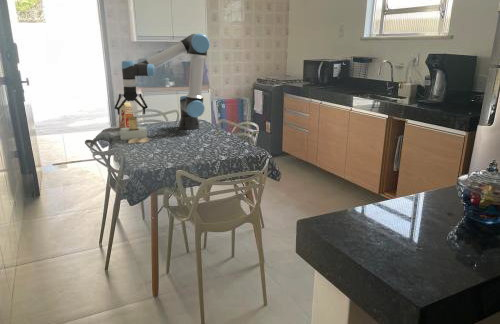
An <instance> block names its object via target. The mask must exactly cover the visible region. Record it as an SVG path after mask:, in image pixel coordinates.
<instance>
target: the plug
mask: <svg viewBox="0 0 500 324" xmlns="http://www.w3.org/2000/svg"><path fill="white" fill-rule="evenodd" d="M129 127H130V131H133V130H137V127H138V121H137V116H134V117H129Z"/></svg>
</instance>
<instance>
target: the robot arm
mask: <svg viewBox="0 0 500 324" xmlns="http://www.w3.org/2000/svg"><path fill="white" fill-rule="evenodd" d="M210 45H211V44H210V40H209V38H208V37H207V35H205V34H203V33H197V32H196V33H191V34H190V35H188V36H187V37H184V38H182V40H180V41H178V43H177V44H175V45H173V46H171V47H168V48H167V49H165V50H163V51H161V52H159V53H157V54H155V55H153V56H150V57H149V58H147V59H144V60H142V61H140V62H137V63H135V61H134V60H122V61H121V73H122V85H123V93H119V94H118V99H117V101H116V102H115V103H116V104H115V105H114V110H117V115H118V116H119V115H120V120H122V116H121V109H120V108H121V107H122V106H123V104H124V103H125V102H135V103H137V104H138V106H140V107H141V118H142V120H144V115H146V109H148V105H147V103H146V102H145V100H144V98H143V96H142V93H137V85H136V84H137V83H136V77H154V76H155V73H156V72H155V69H157V68H159V67H161V66H163V65H165V64H167V63H169V62H171V61H173V60H175V59H177V58H179V57H181V56H183V55H189V56H190V68H189V69H190V70H189V84H188V93H187V94H186V95H181V96H180V97H179V106H180V107H179V108H180V118H179V122H178V129H181V130H190V131H191V130H197V129H200V128H201V123H200V121H199V117H201V116H202V115H203V114H204V112H205V109H206V108H205V104H204V97H203V95H202V89H203V81H204V80H203V78H204V64H205V58H206V57H207V56H208V50H210ZM123 97H124V100H123V102H122V101H121V98H123ZM137 97H138V98H140V100H141V102H142V103H143V104H142V103H141V102H140V101H139V100H138V98H137ZM120 101H121V103H120ZM119 104H120V105H119Z"/></svg>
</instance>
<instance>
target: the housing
mask: <svg viewBox="0 0 500 324" xmlns="http://www.w3.org/2000/svg"><path fill="white" fill-rule="evenodd" d="M119 130H120V131H119V135H120V136H119V137H120V140H121V141H124V140H129V139H135V138H148V132H147V126H137V130H133V131H130V128H121V129H119Z"/></svg>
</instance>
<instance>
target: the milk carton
mask: <svg viewBox="0 0 500 324" xmlns="http://www.w3.org/2000/svg"><path fill="white" fill-rule="evenodd" d="M123 101H124V100H123ZM123 101H121V103H122V102H123ZM131 102H132V101H126V102H125V103H124V104H123V106H122V107H121V108H120V109H121V116H122V120H120V115H118V116H119V118H118V129H119V128H120V129H119V130H121V128H130V127H129V117H135V114H134V110H133V107H132V104H131Z"/></svg>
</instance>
